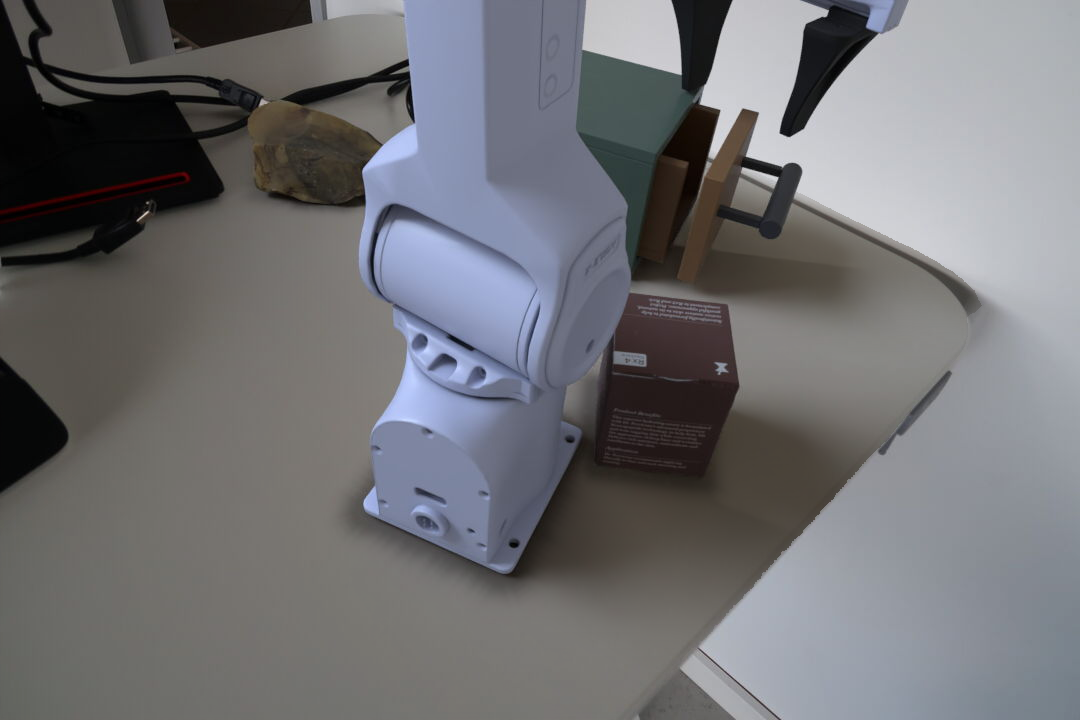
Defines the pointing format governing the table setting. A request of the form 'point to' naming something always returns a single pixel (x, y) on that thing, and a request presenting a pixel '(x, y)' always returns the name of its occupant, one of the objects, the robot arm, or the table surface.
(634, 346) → the box
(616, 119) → the cabinet
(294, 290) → the table surface
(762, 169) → the drawer
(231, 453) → the table surface
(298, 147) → the decorative stone
